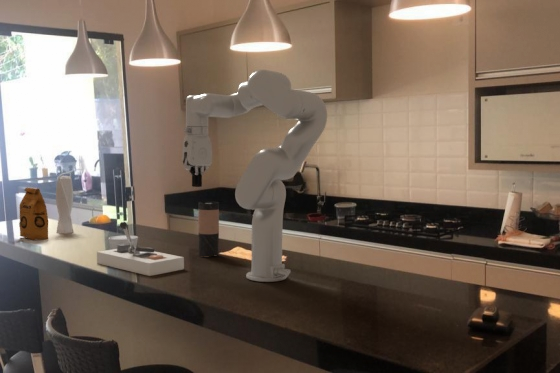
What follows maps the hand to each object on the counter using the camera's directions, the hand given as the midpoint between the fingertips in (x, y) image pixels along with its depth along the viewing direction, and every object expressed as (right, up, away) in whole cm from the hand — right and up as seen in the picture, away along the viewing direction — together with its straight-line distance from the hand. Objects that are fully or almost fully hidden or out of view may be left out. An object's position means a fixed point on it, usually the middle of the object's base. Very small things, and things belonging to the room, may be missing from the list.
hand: (196, 186), depth 195 cm
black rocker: (-17, -21, -3) cm, 27 cm away
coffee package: (-79, -23, +55) cm, 98 cm away
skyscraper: (-72, -22, +72) cm, 104 cm away
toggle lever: (-22, -22, +1) cm, 31 cm away
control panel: (-19, -27, -1) cm, 33 cm away
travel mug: (+1, -26, +20) cm, 33 cm away
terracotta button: (-12, -26, -7) cm, 30 cm away
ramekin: (-33, -25, +29) cm, 50 cm away
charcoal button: (-26, -24, +5) cm, 36 cm away
